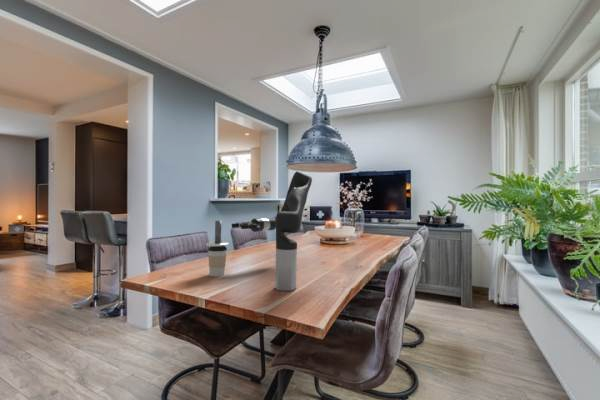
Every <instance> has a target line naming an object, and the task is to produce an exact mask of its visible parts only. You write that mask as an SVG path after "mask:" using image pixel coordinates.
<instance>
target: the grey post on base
mask: <svg viewBox="0 0 600 400" xmlns="http://www.w3.org/2000/svg"><path fill="white" fill-rule="evenodd" d="M214 221H215V223H214V241H209V242H206V244H205V245H206V247H210V246H213V247H219V246H225V247H227V246H230V242H227V241H222V220H214Z"/></svg>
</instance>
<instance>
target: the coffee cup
mask: <svg viewBox="0 0 600 400" xmlns="http://www.w3.org/2000/svg"><path fill="white" fill-rule="evenodd" d="M227 250H228V248H227V246H219V247H213V246H208V249H207V251H208V254H207V255H208V267H209V276H210V277H215V278H216V277H223V276H224V275H225V267H226V260H227Z"/></svg>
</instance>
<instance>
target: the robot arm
mask: <svg viewBox="0 0 600 400" xmlns="http://www.w3.org/2000/svg"><path fill="white" fill-rule="evenodd" d="M312 182H313V178H312V176H310V175H308V174H307V173H303V172H301V171H299V170H296V171H295V172H294V174H293V175H292V177H291V180H290V183H289V187H288V189H287V192H286V196H285V199H284V202H283V205H282V207H281V209H280V211H278V212H277V213H276V216H273V217H270V218H265V217H261V218H260V217H259V218H258V217H257V218H252V219H251V220H250V221H241V222H236V223H231V229H232V228H233V229H235V228H236V229H237V228H238V229H241V230H251V231H252V232H253V233H258V232H261V233H262V232H266V231H268V232H269V231H273V230H274V231H275V269H274V272H275V273H274V274H275V276H274V288H275V289H276V291H282V292H283V291H284V292H285V291H286V292H288V291H289V292H291V291H294V290H295V289H296V288H297V266H298V265H297V262H298V260H297V259H298V257H297V255H298V243H297V241H296V240H293V239H290V238H289V237H287V236H286V234H287V233H288V234H289V233H291V234H296V233H298V232H300V229H301V226H302V221H303V215H304V214H303V213H304V210H305V206H306V203H307V199H308V194H309V191H310V189H311V186H312ZM285 233H286V234H285Z"/></svg>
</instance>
